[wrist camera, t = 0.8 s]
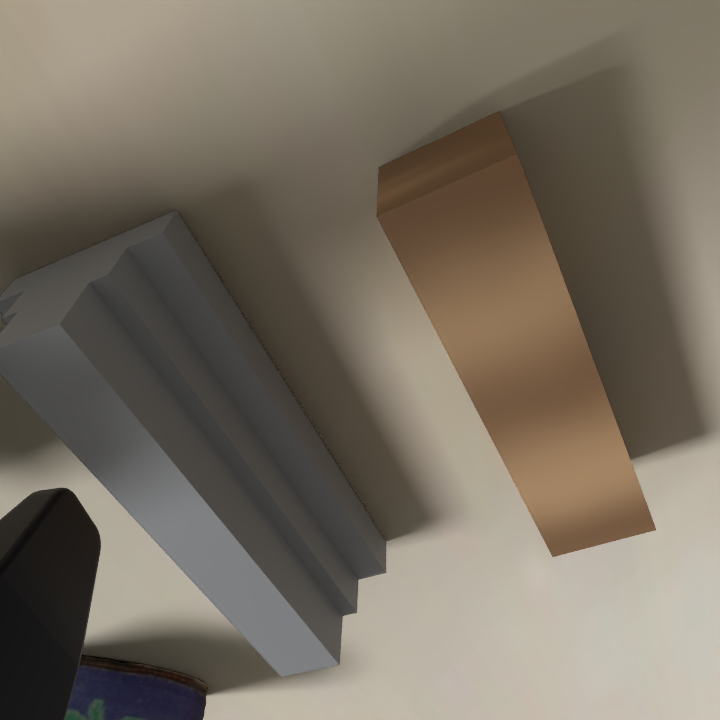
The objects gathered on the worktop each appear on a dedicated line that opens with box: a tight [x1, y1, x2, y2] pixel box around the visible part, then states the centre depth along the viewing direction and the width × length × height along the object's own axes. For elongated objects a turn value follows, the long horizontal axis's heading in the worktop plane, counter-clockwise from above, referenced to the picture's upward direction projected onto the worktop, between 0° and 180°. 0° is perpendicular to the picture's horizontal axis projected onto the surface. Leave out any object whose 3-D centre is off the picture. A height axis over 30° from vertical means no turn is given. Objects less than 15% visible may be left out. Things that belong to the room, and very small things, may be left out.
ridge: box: [0, 210, 386, 677], centre depth 23 cm, size 16×6×5 cm, turn 24°
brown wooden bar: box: [377, 112, 656, 557], centre depth 21 cm, size 14×4×4 cm, turn 27°
